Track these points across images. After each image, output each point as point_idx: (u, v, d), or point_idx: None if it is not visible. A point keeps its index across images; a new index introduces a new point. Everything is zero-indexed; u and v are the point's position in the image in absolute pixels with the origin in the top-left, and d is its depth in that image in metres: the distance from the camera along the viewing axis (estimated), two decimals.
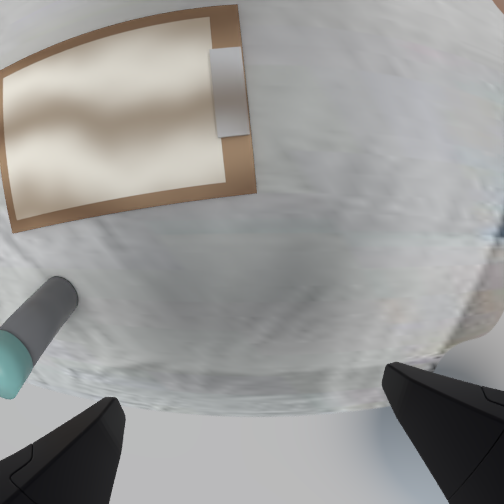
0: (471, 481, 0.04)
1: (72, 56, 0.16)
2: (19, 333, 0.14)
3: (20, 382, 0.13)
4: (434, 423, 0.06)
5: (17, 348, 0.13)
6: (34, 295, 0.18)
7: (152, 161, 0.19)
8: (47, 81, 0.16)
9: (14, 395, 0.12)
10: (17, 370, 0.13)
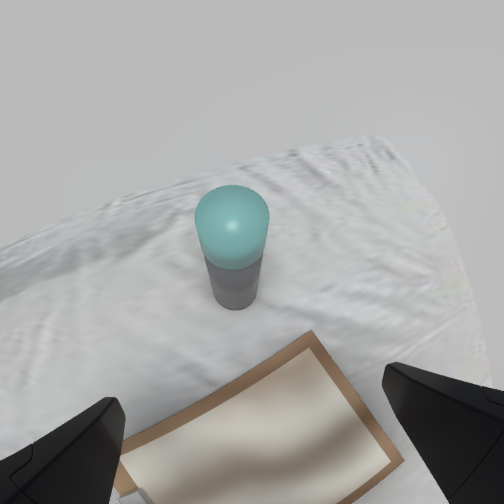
0: (470, 481, 0.04)
1: None
2: (226, 271, 0.17)
3: None
4: (434, 423, 0.06)
5: (215, 261, 0.16)
6: (248, 292, 0.21)
7: (182, 456, 0.18)
8: (330, 482, 0.18)
9: (199, 205, 0.15)
10: (201, 241, 0.15)
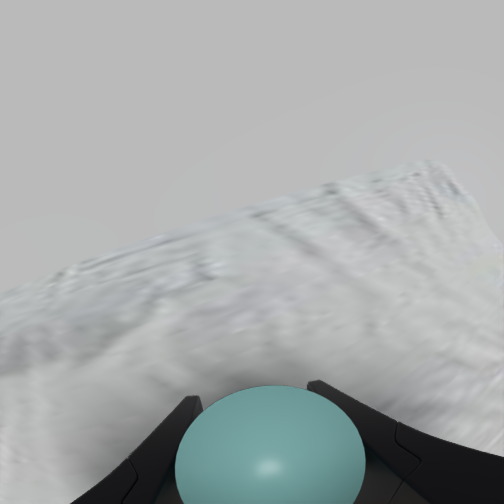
0: None
1: None
2: None
3: None
4: None
5: None
6: None
7: None
8: None
9: (184, 446, 0.05)
10: None
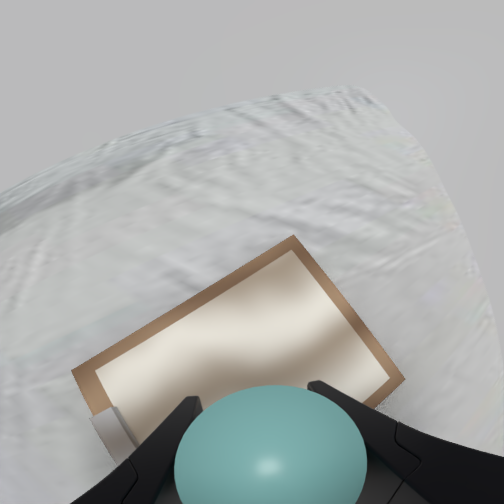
0: None
1: None
2: None
3: (181, 479, 0.05)
4: None
5: None
6: None
7: (161, 365, 0.19)
8: None
9: (183, 447, 0.05)
10: None
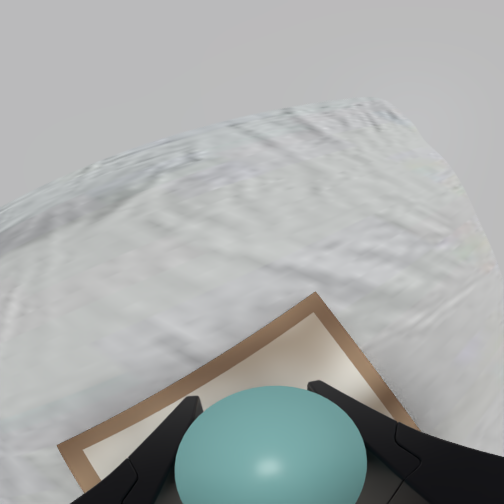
0: None
1: None
2: None
3: (181, 479, 0.05)
4: None
5: None
6: None
7: None
8: None
9: (183, 447, 0.05)
10: None
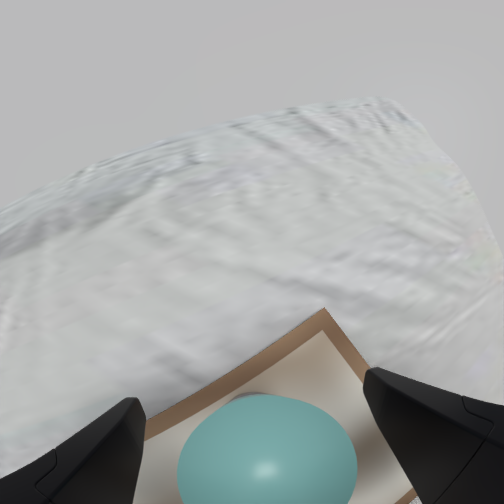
0: (448, 494, 0.04)
1: None
2: None
3: (183, 482, 0.05)
4: (412, 432, 0.06)
5: None
6: None
7: (158, 474, 0.13)
8: None
9: (185, 453, 0.05)
10: None
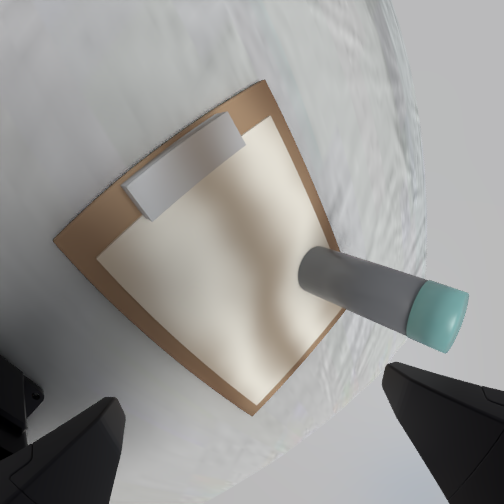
0: (471, 481, 0.04)
1: (218, 360, 0.19)
2: (402, 310, 0.15)
3: (455, 293, 0.14)
4: (434, 423, 0.06)
5: (423, 308, 0.14)
6: (338, 303, 0.19)
7: (280, 200, 0.19)
8: (248, 361, 0.21)
9: (467, 294, 0.14)
10: (446, 301, 0.13)
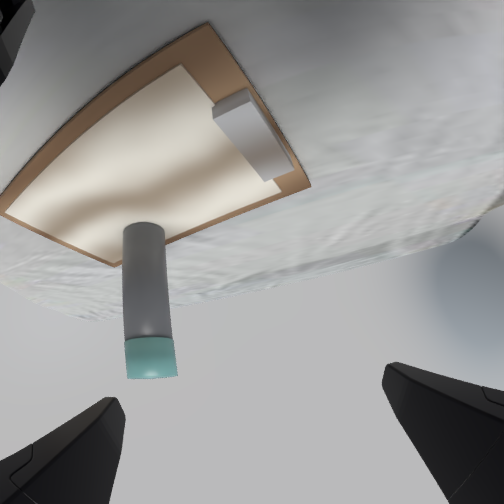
0: (471, 481, 0.04)
1: (56, 172, 0.16)
2: (149, 330, 0.19)
3: (176, 367, 0.19)
4: (434, 423, 0.06)
5: (158, 346, 0.19)
6: (128, 268, 0.21)
7: (208, 202, 0.21)
8: (53, 196, 0.17)
9: None
10: (170, 363, 0.19)
